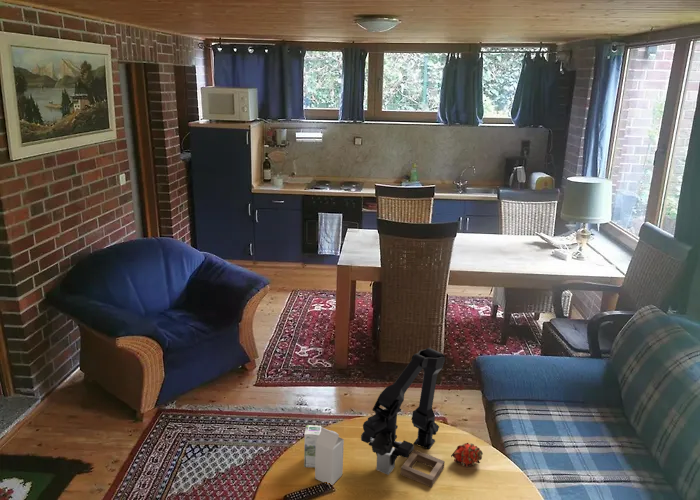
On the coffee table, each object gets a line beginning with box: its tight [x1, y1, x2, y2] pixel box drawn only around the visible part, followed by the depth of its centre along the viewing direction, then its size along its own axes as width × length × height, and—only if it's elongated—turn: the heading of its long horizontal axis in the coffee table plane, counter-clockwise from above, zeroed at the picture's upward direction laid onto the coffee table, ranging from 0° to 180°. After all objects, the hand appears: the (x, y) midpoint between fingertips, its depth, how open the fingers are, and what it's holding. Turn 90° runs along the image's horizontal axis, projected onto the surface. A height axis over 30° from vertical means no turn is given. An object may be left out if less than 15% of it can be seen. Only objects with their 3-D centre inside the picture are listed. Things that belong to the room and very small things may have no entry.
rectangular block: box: [375, 447, 396, 476], centre depth 200 cm, size 5×5×8 cm
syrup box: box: [303, 424, 322, 469], centre depth 201 cm, size 6×6×14 cm
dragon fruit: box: [450, 442, 484, 468], centre depth 205 cm, size 8×8×12 cm
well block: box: [400, 449, 446, 488], centre depth 200 cm, size 12×12×3 cm
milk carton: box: [314, 427, 345, 486], centre depth 193 cm, size 7×7×19 cm
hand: (385, 461), depth 200 cm, fingers closed on rectangular block, 5 cm apart
